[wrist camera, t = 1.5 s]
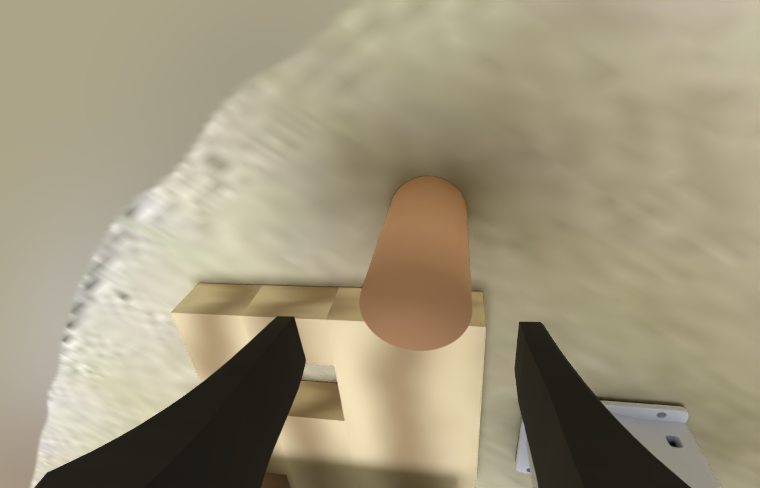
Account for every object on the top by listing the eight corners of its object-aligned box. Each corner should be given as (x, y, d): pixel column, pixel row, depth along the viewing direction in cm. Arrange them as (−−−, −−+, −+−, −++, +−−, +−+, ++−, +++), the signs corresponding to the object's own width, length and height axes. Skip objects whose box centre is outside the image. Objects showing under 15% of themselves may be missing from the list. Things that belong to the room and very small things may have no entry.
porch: (482, 291, 23) (492, 390, 17) (472, 475, 32) (476, 583, 26) (198, 283, 26) (122, 363, 20) (261, 452, 35) (221, 543, 29)
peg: (467, 175, 20) (474, 262, 13) (466, 245, 22) (470, 353, 15) (387, 177, 20) (353, 260, 14) (392, 245, 22) (365, 347, 16)
